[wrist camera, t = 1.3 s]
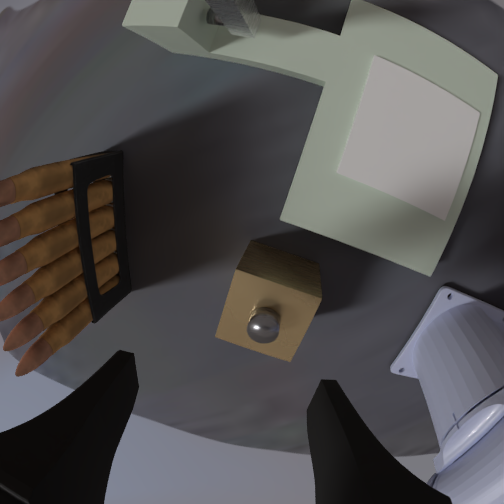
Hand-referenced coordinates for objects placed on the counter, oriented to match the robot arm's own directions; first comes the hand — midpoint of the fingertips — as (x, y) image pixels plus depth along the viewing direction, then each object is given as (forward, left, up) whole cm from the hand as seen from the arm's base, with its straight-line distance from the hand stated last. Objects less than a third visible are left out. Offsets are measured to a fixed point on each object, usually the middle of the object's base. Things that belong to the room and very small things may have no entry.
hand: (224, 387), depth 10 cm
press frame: (0, -11, -10) cm, 15 cm away
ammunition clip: (+11, 0, -10) cm, 15 cm away
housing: (-1, 0, -10) cm, 10 cm away
